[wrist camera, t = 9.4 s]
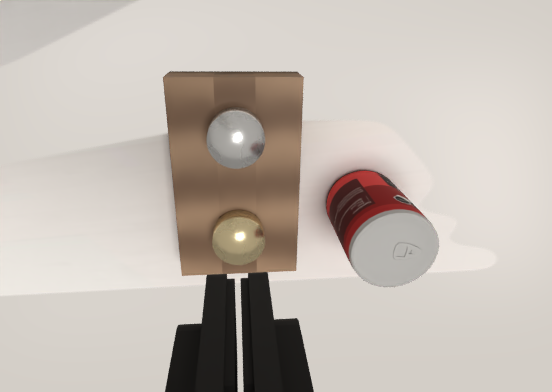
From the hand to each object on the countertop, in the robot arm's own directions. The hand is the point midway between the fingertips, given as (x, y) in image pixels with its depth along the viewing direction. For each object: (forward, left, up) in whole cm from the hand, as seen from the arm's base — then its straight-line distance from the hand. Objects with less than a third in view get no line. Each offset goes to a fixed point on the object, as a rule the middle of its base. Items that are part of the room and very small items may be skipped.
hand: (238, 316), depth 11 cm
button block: (+7, 0, -31) cm, 32 cm away
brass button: (+12, 0, -31) cm, 33 cm away
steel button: (+2, 0, -31) cm, 31 cm away
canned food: (+11, +14, -31) cm, 36 cm away
